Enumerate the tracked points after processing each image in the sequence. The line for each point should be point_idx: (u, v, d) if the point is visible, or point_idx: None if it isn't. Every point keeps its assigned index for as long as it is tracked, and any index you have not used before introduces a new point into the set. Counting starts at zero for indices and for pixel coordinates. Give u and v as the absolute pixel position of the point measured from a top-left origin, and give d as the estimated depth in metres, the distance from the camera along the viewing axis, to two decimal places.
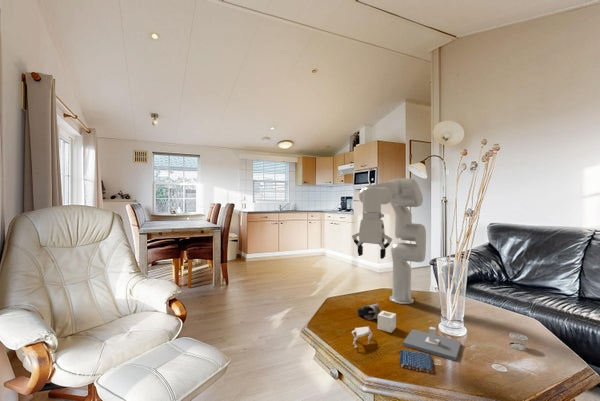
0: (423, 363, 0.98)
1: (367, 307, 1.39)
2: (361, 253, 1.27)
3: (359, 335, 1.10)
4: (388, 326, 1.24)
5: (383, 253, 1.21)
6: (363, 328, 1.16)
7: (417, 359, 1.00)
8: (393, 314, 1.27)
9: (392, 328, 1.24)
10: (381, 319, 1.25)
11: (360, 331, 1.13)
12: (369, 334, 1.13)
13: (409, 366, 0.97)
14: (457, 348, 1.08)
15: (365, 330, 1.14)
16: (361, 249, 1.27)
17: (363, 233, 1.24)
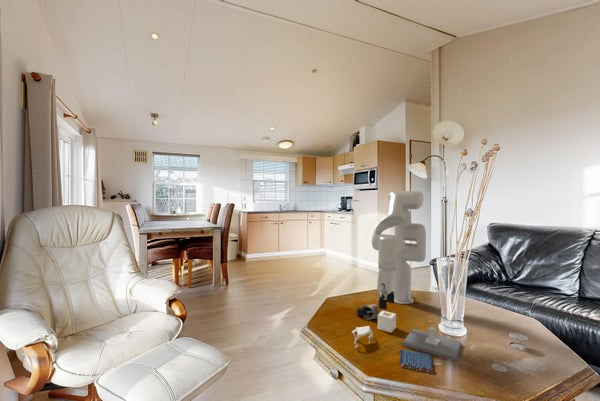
0: (423, 363, 0.98)
1: (366, 307, 1.39)
2: None
3: (360, 335, 1.11)
4: (388, 326, 1.24)
5: None
6: (364, 327, 1.16)
7: (417, 359, 1.00)
8: (393, 314, 1.27)
9: (392, 328, 1.24)
10: (381, 319, 1.25)
11: (361, 331, 1.13)
12: (370, 333, 1.13)
13: (409, 366, 0.97)
14: (457, 348, 1.08)
15: (366, 330, 1.14)
16: None
17: (390, 284, 1.23)
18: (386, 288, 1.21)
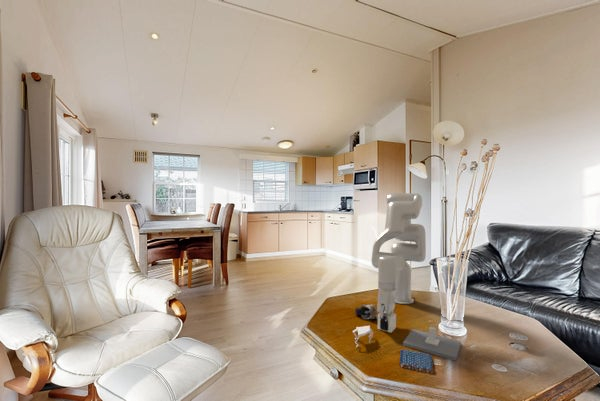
0: (423, 363, 0.98)
1: (364, 307, 1.39)
2: None
3: (361, 334, 1.11)
4: None
5: None
6: (364, 327, 1.17)
7: (417, 359, 1.00)
8: (393, 314, 1.27)
9: (392, 328, 1.24)
10: None
11: (361, 330, 1.14)
12: (370, 333, 1.14)
13: (409, 366, 0.97)
14: (457, 348, 1.08)
15: (366, 329, 1.15)
16: None
17: (390, 304, 1.23)
18: (386, 308, 1.22)
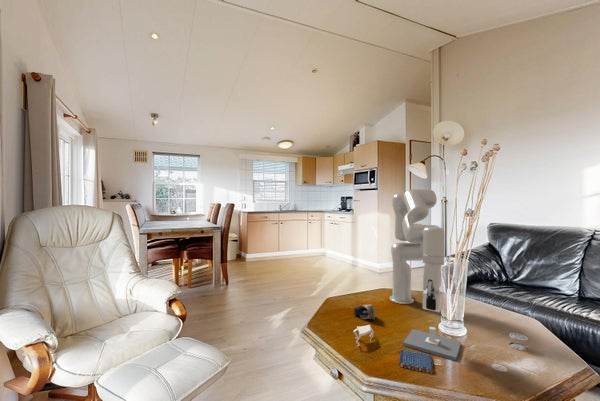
0: (423, 363, 0.98)
1: (363, 307, 1.39)
2: None
3: (362, 334, 1.11)
4: None
5: None
6: (365, 326, 1.17)
7: (417, 359, 1.00)
8: (440, 292, 1.12)
9: (440, 307, 1.09)
10: None
11: (362, 330, 1.14)
12: (371, 332, 1.14)
13: (409, 366, 0.97)
14: (457, 348, 1.08)
15: (367, 329, 1.15)
16: None
17: (438, 281, 1.09)
18: (434, 285, 1.07)
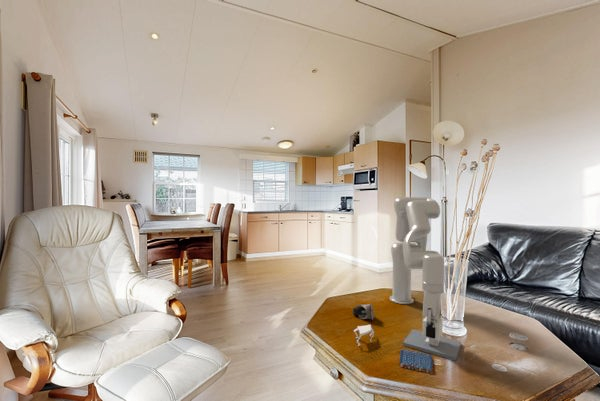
0: (423, 363, 0.98)
1: (362, 307, 1.40)
2: None
3: (362, 333, 1.12)
4: (435, 333, 1.09)
5: None
6: (365, 326, 1.17)
7: (417, 359, 1.00)
8: (440, 320, 1.12)
9: (440, 336, 1.09)
10: None
11: (363, 329, 1.15)
12: (372, 332, 1.15)
13: (409, 366, 0.97)
14: (457, 348, 1.08)
15: (368, 328, 1.16)
16: None
17: (438, 309, 1.09)
18: (434, 313, 1.08)
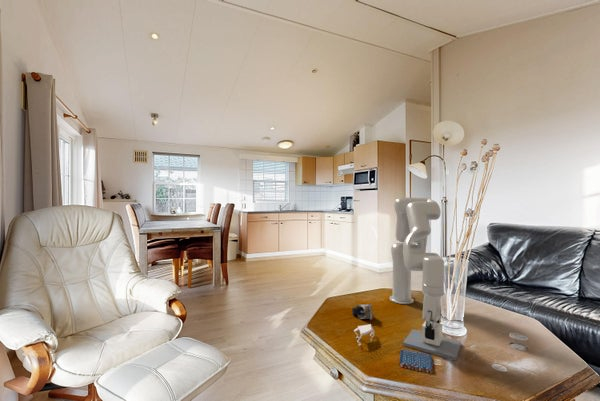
0: (423, 363, 0.98)
1: (361, 307, 1.40)
2: None
3: (363, 333, 1.12)
4: None
5: None
6: (366, 326, 1.18)
7: (417, 359, 1.00)
8: (439, 325, 1.13)
9: (439, 341, 1.10)
10: None
11: (363, 329, 1.15)
12: (372, 332, 1.15)
13: (408, 366, 0.97)
14: (457, 348, 1.08)
15: (368, 328, 1.16)
16: None
17: (438, 311, 1.09)
18: (434, 316, 1.08)
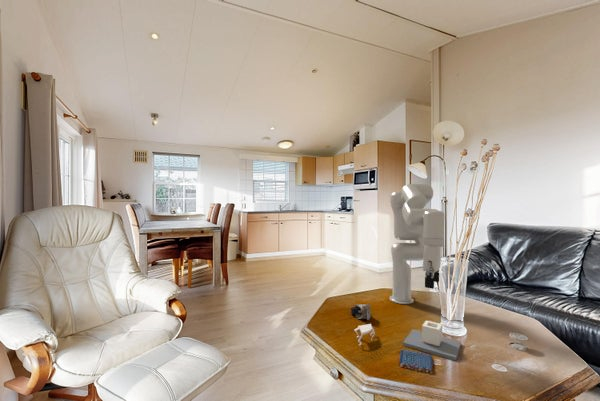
0: (423, 363, 0.98)
1: (359, 306, 1.40)
2: None
3: (364, 333, 1.12)
4: (434, 338, 1.09)
5: None
6: (366, 325, 1.18)
7: (417, 359, 1.00)
8: (439, 325, 1.13)
9: (439, 341, 1.10)
10: (426, 330, 1.11)
11: (364, 329, 1.15)
12: (372, 331, 1.15)
13: (408, 366, 0.97)
14: (457, 348, 1.08)
15: (368, 327, 1.16)
16: None
17: (437, 262, 1.13)
18: (433, 266, 1.12)
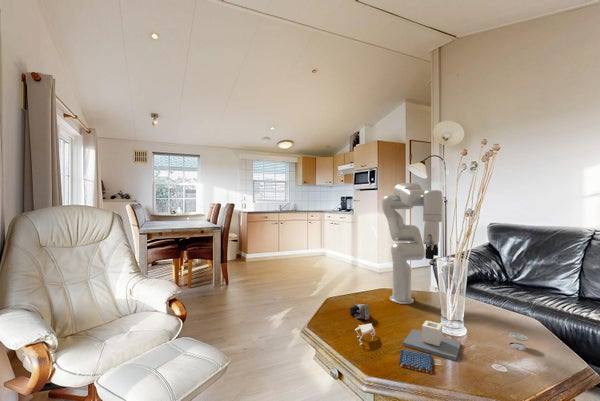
0: (423, 363, 0.98)
1: (358, 306, 1.40)
2: None
3: (364, 332, 1.13)
4: (434, 338, 1.09)
5: None
6: (366, 325, 1.18)
7: (417, 359, 1.00)
8: (439, 325, 1.13)
9: (439, 341, 1.10)
10: (426, 330, 1.11)
11: (364, 328, 1.16)
12: (373, 331, 1.16)
13: (408, 366, 0.97)
14: (457, 348, 1.08)
15: (369, 327, 1.17)
16: None
17: (436, 235, 1.26)
18: (433, 238, 1.24)
